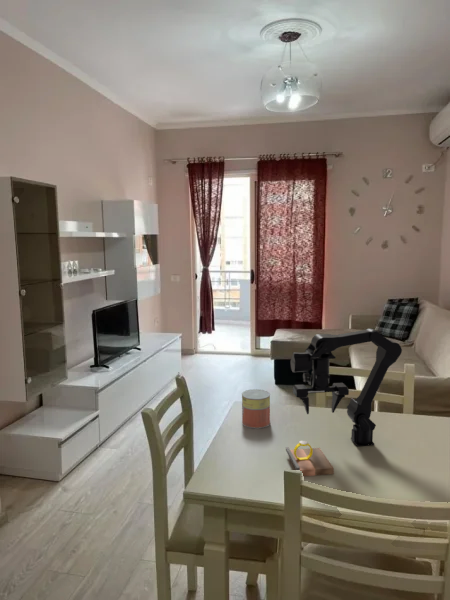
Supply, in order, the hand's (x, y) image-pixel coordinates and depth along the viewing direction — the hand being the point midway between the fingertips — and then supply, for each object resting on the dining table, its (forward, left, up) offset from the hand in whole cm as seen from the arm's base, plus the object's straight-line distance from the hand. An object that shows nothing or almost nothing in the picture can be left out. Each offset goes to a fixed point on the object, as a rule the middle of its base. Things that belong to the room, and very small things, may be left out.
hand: (320, 413), depth 163 cm
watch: (+10, +13, -10) cm, 19 cm away
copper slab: (+8, +13, -12) cm, 19 cm away
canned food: (+19, -23, -12) cm, 32 cm away
